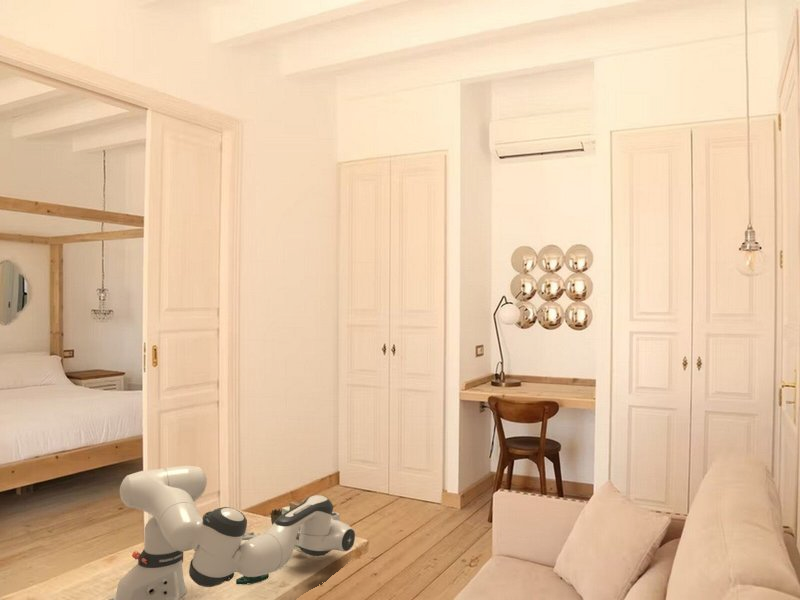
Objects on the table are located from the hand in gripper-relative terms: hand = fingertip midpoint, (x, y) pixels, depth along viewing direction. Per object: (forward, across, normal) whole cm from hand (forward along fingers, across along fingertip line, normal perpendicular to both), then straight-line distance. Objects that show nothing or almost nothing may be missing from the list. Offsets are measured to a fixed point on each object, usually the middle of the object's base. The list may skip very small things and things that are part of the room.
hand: (297, 517), depth 233 cm
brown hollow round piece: (+25, +9, -14) cm, 30 cm away
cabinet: (+9, +10, -14) cm, 19 cm away
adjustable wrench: (+28, -12, -14) cm, 34 cm away
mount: (-7, -22, -14) cm, 28 cm away
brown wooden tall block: (-1, 0, -6) cm, 7 cm away
